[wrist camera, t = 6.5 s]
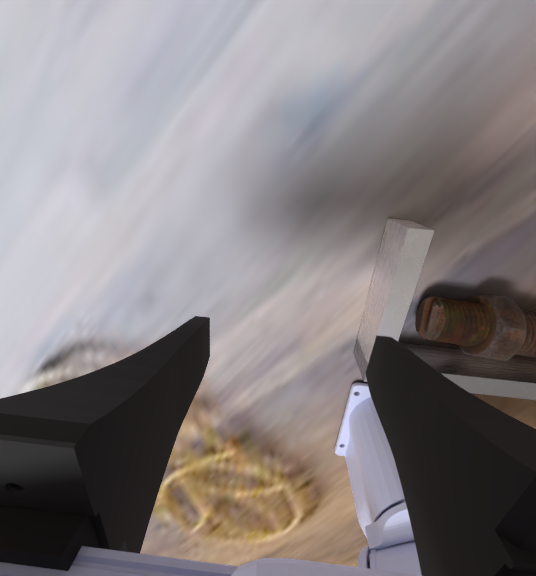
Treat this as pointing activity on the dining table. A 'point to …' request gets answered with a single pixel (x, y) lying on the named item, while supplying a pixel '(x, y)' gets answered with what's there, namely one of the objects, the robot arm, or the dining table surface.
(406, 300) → the keeper
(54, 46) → the dining table surface
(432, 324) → the bolt
